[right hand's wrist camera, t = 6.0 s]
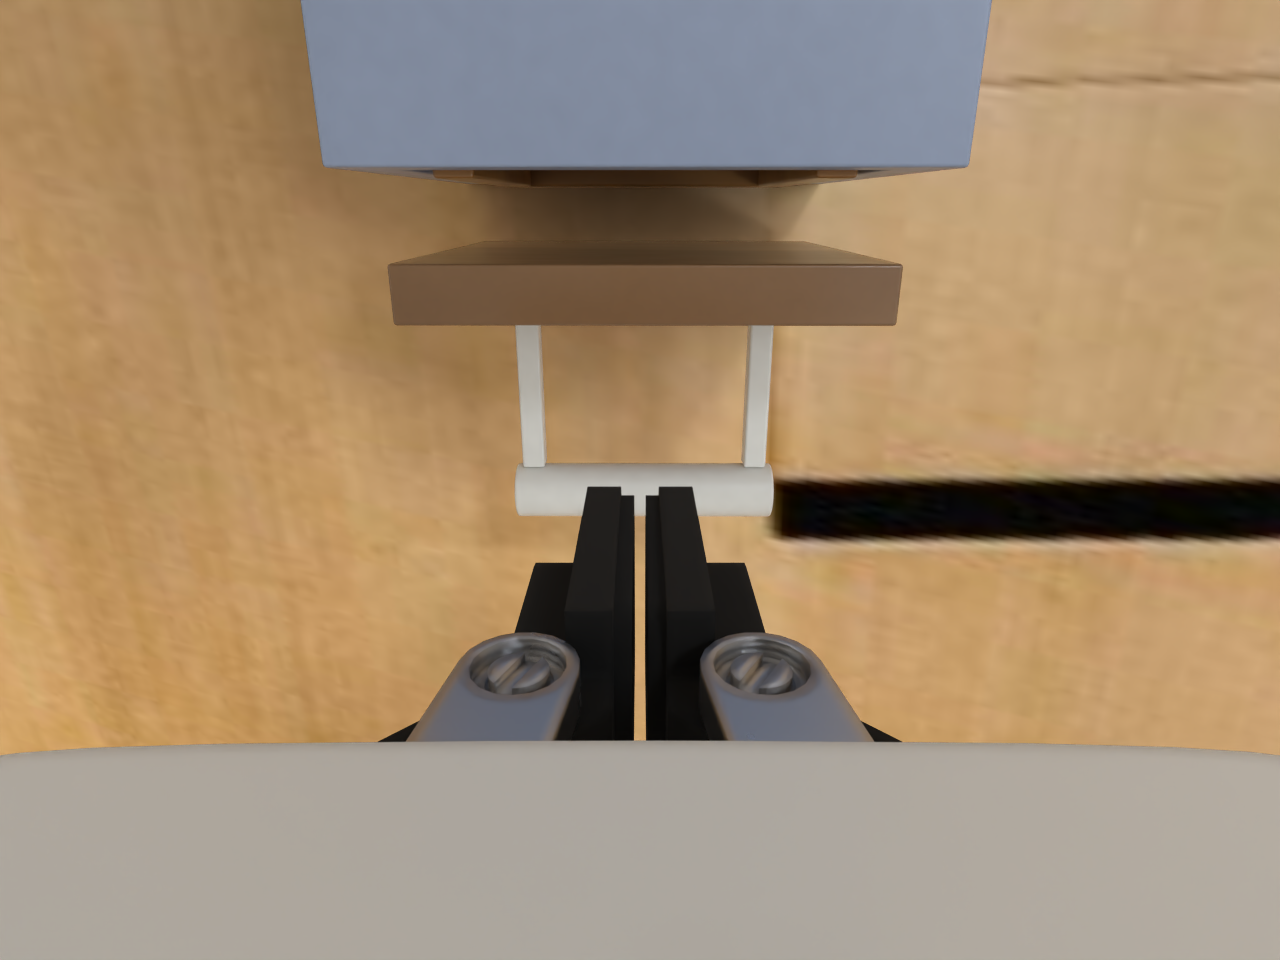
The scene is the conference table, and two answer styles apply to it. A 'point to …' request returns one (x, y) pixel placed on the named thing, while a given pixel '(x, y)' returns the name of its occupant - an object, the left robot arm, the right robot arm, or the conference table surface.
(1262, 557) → the conference table surface
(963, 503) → the conference table surface
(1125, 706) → the conference table surface
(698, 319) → the drawer
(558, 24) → the grey box
